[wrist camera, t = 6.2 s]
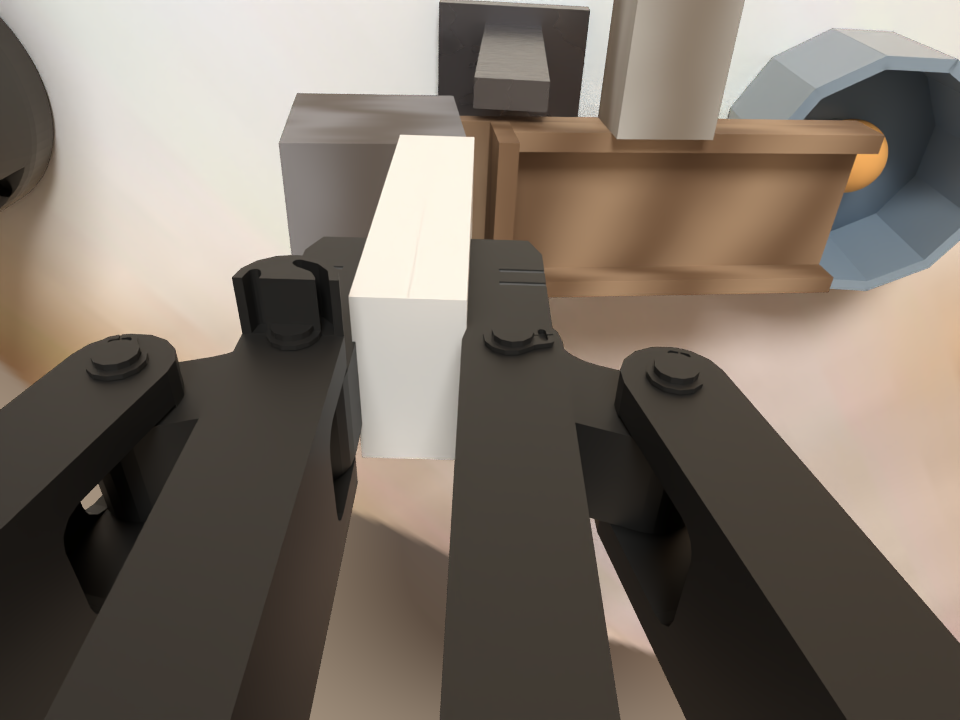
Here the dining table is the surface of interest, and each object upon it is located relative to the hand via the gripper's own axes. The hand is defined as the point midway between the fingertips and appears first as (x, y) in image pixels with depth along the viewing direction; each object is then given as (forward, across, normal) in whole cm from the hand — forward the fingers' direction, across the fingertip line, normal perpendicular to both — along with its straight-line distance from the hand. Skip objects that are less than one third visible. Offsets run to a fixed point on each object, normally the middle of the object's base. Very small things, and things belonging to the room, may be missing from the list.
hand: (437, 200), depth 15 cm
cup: (+28, +22, -7) cm, 36 cm away
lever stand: (+29, +2, -7) cm, 30 cm away
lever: (+20, +5, -4) cm, 21 cm away
